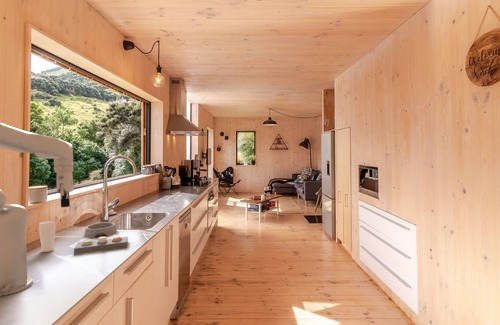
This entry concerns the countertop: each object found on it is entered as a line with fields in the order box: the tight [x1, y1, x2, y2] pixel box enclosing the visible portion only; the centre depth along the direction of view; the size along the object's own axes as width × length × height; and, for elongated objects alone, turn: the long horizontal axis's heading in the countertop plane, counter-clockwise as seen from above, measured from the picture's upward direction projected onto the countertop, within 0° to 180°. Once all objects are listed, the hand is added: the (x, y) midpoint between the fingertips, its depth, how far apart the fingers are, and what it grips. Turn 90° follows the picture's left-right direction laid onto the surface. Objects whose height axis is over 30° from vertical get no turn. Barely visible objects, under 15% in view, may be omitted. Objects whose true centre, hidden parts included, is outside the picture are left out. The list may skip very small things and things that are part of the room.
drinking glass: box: [38, 220, 56, 253], centre depth 138 cm, size 7×7×15 cm
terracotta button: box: [112, 236, 121, 242], centre depth 144 cm, size 4×4×3 cm
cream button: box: [97, 236, 108, 244], centre depth 142 cm, size 4×4×3 cm
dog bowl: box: [83, 221, 118, 239], centre depth 168 cm, size 17×18×5 cm
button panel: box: [73, 236, 129, 255], centre depth 142 cm, size 10×24×3 cm, turn 112°
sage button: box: [82, 239, 93, 246], centre depth 139 cm, size 4×4×3 cm
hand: (65, 206), depth 127 cm, fingers closed
